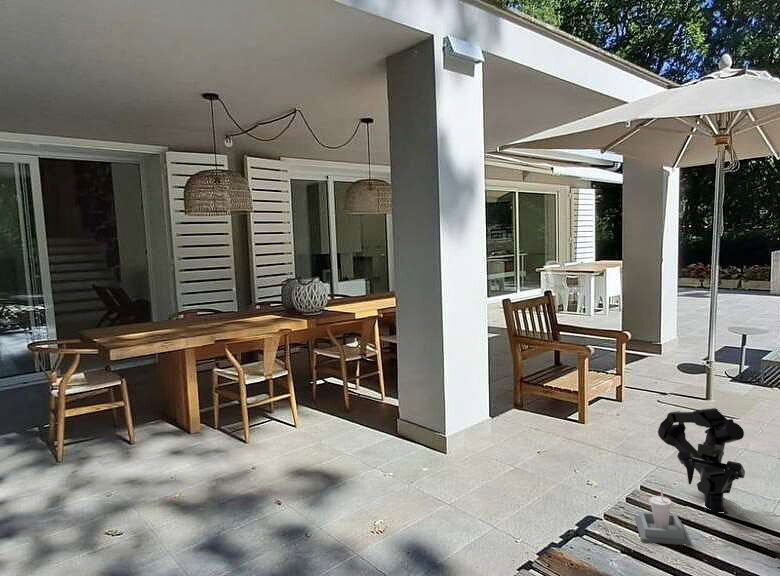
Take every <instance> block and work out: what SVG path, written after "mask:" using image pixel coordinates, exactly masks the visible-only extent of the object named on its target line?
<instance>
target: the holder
mask: <svg viewBox="0 0 780 576" xmlns="http://www.w3.org/2000/svg"><path fill="white" fill-rule="evenodd" d="M638 513H639V515H638V516H637V515H634V520H635V525H636V526H637V531H638V535H639V538H640V541H641V542H643V543H655V544H656V543H657V544H666V545H678V546H679V545H681V544H683V545H682V546H689V545H691V540H690V539H689V536H688V534H687V532H686V530H685V527H684V525H683V523H682V521H681V519H679V517H678V514H677V513H671V512H670V514H669V524H668V529H661V528H655V523H654V518H653V512H652V511H643V510H642V511H638ZM684 544H686V545H684Z"/></svg>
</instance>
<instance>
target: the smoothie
mask: <svg viewBox="0 0 780 576" xmlns="http://www.w3.org/2000/svg"><path fill="white" fill-rule="evenodd" d="M649 504H650V506H651V512H653V518H654V523H655V528H661V529H668V524H669V514H670V513H671V506H672V500H671V499H670V498H668V497H665V496H664V488H663V487H660V495H654V496H651V497H650V498H649Z"/></svg>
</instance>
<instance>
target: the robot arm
mask: <svg viewBox="0 0 780 576" xmlns="http://www.w3.org/2000/svg"><path fill="white" fill-rule="evenodd" d="M677 423H678V424H677ZM686 423H688V424H690V423H691V424H692V423H693V424H695V425H696V426H699V427H704V428H706V430H704V433H705V434H706V437H705V441H703V442H702V443H698V444H697V449H696V448H695V447H694V446H693V445H692V444H691V443H690V442H689V441H688V439H687V437H686V429H687V427H686V425H685V424H686ZM657 433H658V437H659V438H660V440H662V441H663V442H664V443H665V444H666V445H668V446H671V447H673V448H675V449H676V450H677V451H678V452H677V456H676V457H677V459H678V461H679V462H680V464H681V465H683V466H684V467H685V469H686V475H687V480H688V481H687V482H688V485H691V484H692V483H693V477H694V473H695V470H696V472H697V473H698V474H699V477H700V481H699V482H697V483H696V487H697V490H698V491H699V492H700V493H702V494H703V496H704V502H705V506H706V507H707V508H709V509H711V511H710V510H707V509H704V511H705V512H706V513H711V514H712V512H724V513H723V514H726V513H727V514H728V511H727V509H726V507H725V506H724V505H725V504H724V502H725V501H724V499H725V498H724V494H730V492H731V489H732V487H733V482H734V481H735V480H739V479H744V478H745V474H746V471H745V468H744V466H743V464H741V462H735V461H732V460H728V461H727V462H726V463H725V462H724V463H723V462H722V461H723V456H724V455H725V445H726V444H730V443H732V442H736V441H740V440H742V439H743V438H744V436H745V432H744V429H743V427H741V425H740V424H738V423H736V422H734V419H733V418H729V419H728V418H726V416H724V415H723V414H722V413H721V412H720V410H719V409H717V408H716V407H711V408H704V409H697V410H694V411H679V410H678V411H670V412H669V413H667V416H666V417H665V419H664V420H662V421H661V423H660V425H659V427H658V430H657Z"/></svg>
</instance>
